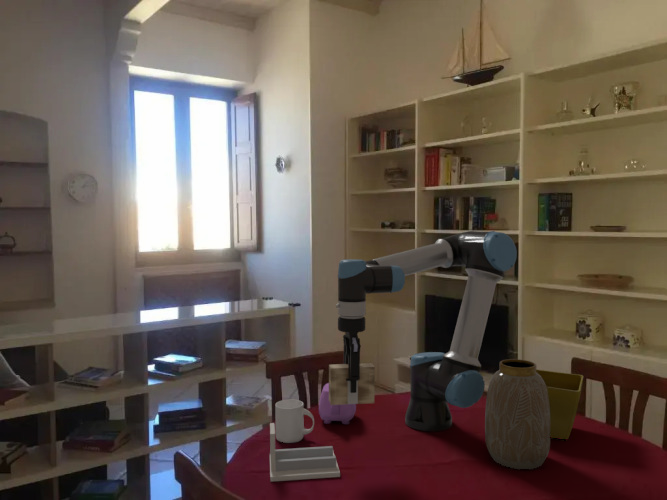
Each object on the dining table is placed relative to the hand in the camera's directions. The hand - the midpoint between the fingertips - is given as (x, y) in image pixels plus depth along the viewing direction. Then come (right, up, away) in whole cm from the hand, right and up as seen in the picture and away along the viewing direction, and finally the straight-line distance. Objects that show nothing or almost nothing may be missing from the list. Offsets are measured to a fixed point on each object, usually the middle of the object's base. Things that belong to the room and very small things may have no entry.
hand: (351, 400), depth 151 cm
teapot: (-3, -16, +33) cm, 37 cm away
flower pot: (+63, -16, +22) cm, 68 cm away
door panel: (0, 0, 0) cm, 0 cm away
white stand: (-13, -17, -2) cm, 22 cm away
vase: (+46, -17, +2) cm, 49 cm away
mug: (-17, -17, +18) cm, 29 cm away
